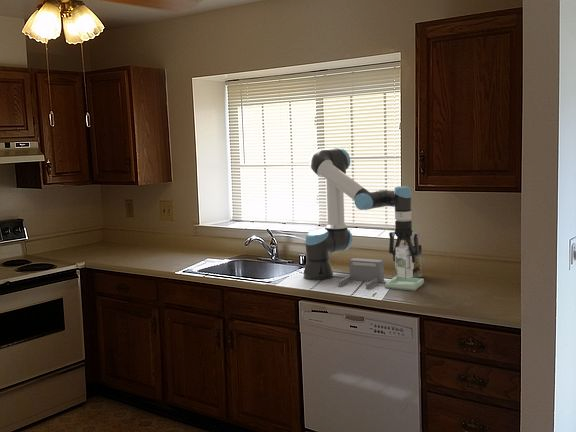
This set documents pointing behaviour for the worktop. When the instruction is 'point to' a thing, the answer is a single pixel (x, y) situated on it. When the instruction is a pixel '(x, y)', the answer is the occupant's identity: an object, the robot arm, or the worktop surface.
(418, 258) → the coffee box
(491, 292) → the worktop surface
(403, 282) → the tray
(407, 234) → the robot arm
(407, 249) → the syrup box
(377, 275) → the bay
